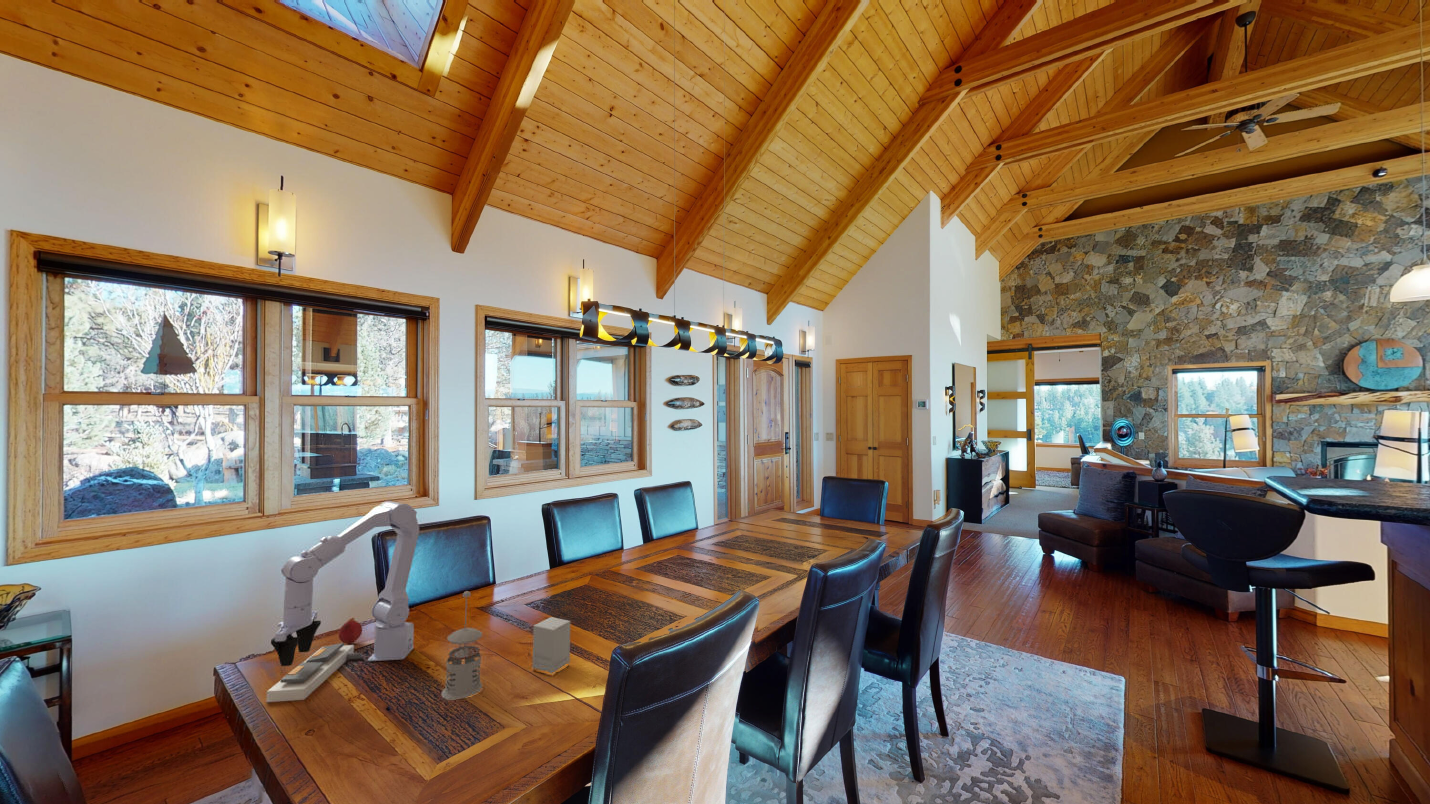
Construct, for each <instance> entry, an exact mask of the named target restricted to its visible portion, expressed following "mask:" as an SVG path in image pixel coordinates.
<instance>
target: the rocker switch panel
mask: <svg viewBox="0 0 1430 804" xmlns="http://www.w3.org/2000/svg"><path fill="white" fill-rule="evenodd" d="M323 647H324V646H322V647H321V648H319V649H318V650H317V651H315V652H314V653H313V654H312V655H310V656H309V657H307V659H306V660H304V661H303V662H306V661H307V660H308V659H309V658H311V657H312V656H313V655H314V654H315V653H317V652H318V651H319V650H320V649H322V648H323ZM354 648H355V645H354V644H351V645H348V644H344V646H343V647H342V648H340V649H339V650H338V651H337V652H336V653H335V654H333V655H332V656H331V657H330V658H329V659H328V660H324V661H319V662H323V666H322V667H320V668H319V669H318V670H317V671H316V672H315V673H314V674H312V675H311V676H310V677H309V678H308V679H307V680H305V681H304V682H288V683H281V680H280V681H278V682H276V684H274V685H273V686H271V688H269V689H268V690H267V691H266V702H265V703H275V702H277V703H278V702H289V701H304V700H305V699H306V698H308V696H310V695H311V694H312V693H313V692H314V691H315V690H316V689H318V687H320V686H321V685H322V684H323V683H324V682H325V681H326V680H327V679H329V677H331V675H332V674H334V673H335V672H336V671H337V670H339V668H341V666H342V665H344V663H346V662H347V661H352V660H361V659H362V658H363V652H354V651H355V650H354Z"/></svg>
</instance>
